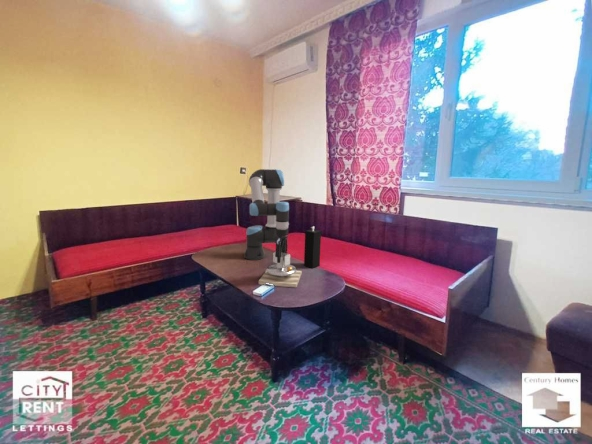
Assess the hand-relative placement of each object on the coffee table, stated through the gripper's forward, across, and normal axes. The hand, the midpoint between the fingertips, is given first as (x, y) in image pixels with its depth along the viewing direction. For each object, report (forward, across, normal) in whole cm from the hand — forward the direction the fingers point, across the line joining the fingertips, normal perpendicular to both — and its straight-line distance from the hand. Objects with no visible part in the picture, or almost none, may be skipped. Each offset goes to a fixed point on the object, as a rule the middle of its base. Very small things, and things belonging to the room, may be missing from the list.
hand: (281, 265), depth 176 cm
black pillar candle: (+9, +30, -11) cm, 33 cm away
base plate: (+8, 0, 0) cm, 8 cm away
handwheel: (+3, 0, 0) cm, 3 cm away
